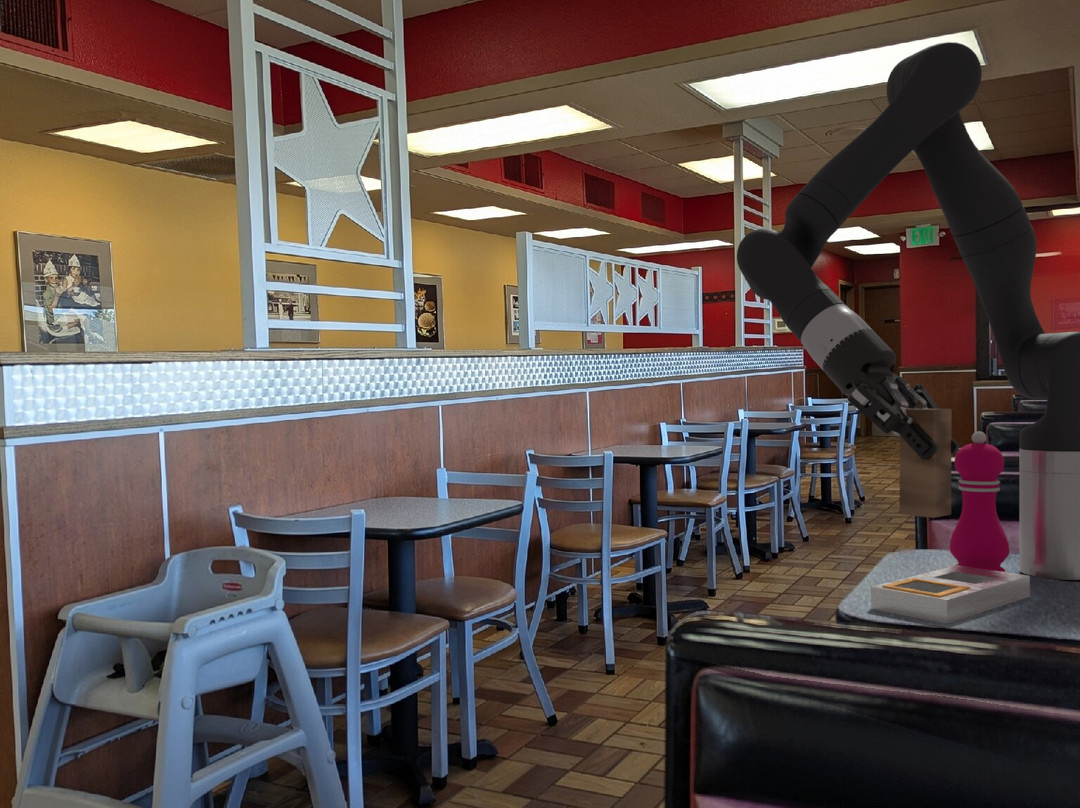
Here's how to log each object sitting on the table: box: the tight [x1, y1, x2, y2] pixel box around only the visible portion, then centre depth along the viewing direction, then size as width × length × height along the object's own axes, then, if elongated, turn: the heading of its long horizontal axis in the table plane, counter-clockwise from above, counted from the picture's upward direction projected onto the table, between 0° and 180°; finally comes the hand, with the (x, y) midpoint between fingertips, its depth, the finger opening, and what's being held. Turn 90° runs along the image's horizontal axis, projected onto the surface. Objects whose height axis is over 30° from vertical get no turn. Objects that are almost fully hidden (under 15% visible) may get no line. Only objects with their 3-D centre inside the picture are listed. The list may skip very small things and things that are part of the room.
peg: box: [899, 408, 953, 519], centre depth 105 cm, size 4×4×12 cm
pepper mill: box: [949, 430, 1010, 572], centre depth 123 cm, size 7×7×20 cm
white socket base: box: [870, 564, 1031, 624], centre depth 109 cm, size 20×9×3 cm, turn 129°
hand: (942, 453), depth 103 cm, fingers closed on peg, 4 cm apart
